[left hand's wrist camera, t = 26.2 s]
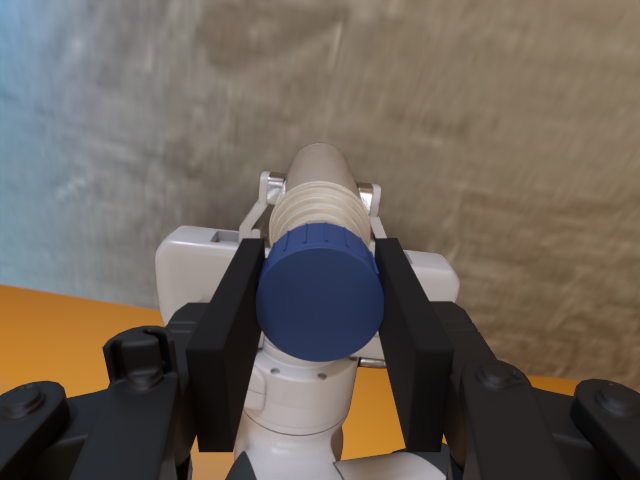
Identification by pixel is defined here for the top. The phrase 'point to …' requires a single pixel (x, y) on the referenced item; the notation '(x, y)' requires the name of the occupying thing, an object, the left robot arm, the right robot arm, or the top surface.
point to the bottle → (319, 194)
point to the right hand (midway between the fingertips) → (320, 179)
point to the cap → (319, 293)
